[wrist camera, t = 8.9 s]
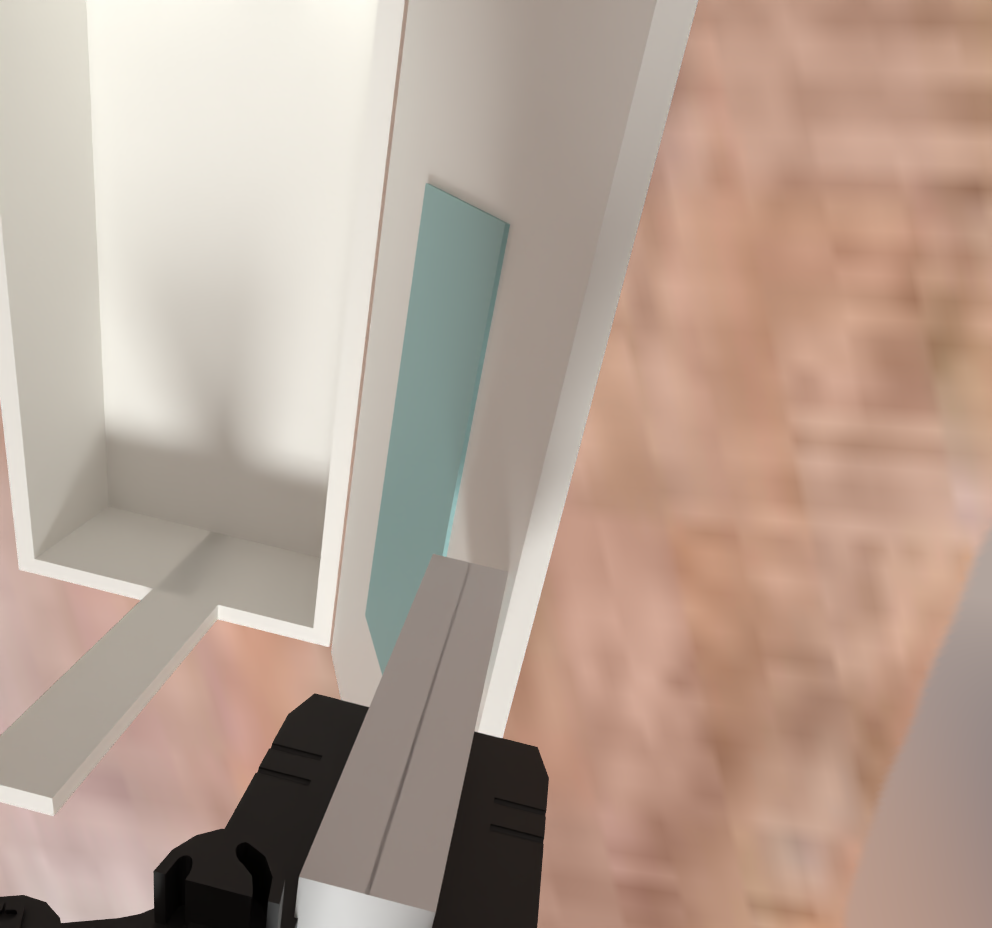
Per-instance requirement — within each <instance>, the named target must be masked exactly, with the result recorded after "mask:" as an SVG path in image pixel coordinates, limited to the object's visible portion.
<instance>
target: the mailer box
mask: <svg viewBox="0 0 992 928" xmlns="http://www.w3.org/2000/svg"><path fill="white" fill-rule="evenodd" d="M408 3H409V0H0V401H1V410H2V419H3V428H4V437H5V446H6V455H7V464H8V473H9V482H10V492H11V501H12V510H13V519H14V528H15V537H16V546H17V555H18V564H19V570H23V571H27V572H31V573H35V574H39V575H43V576H47V577H51V578H55V579H59V580H63V581H67V582H71V583H75V584H79V585H83V586H87V587H91V588H95V589H99V590H103V591H107V592H111V593H115V594H119V595H123V596H127V597H131V598H135V599H139V600H141V601H140V602H139V603H137V604H136V605H135V606H134V607H133V608H132V609H131V610H130V611H129V612H128V613H127V614H126V615H125V616H124V617H123V618H122V619H121V620H120V621H119V622H118V623H117V624H116V625H115V626H114V627H113V628H112V629H110V630H109V631H108V632H107V633H106V634H105V635H104V636H103V637H102V638H101V639H100V640H99V641H98V642H97V643H96V644H95V645H94V646H93V647H92V648H91V649H90V650H89V651H88V652H87V653H86V654H85V655H83V656H82V657H81V658H80V659H79V660H78V661H77V662H76V663H75V664H74V665H73V666H72V667H71V668H70V669H69V670H68V671H67V672H66V673H65V674H64V675H63V676H62V677H61V678H60V679H59V680H57V681H56V682H55V683H54V684H53V685H52V686H51V687H50V688H49V689H48V690H47V691H46V692H45V693H44V694H43V695H42V696H41V697H40V698H39V699H38V700H37V701H36V702H35V703H34V704H33V705H32V706H30V707H29V708H28V709H27V710H26V711H25V712H24V713H23V714H22V715H21V716H20V717H19V718H18V719H17V720H16V721H15V722H14V723H13V724H12V725H11V726H10V727H9V728H8V729H7V730H6V731H5V732H3V733H2V734H1V735H0V802H2V803H6V804H10V805H13V806H17V807H21V808H25V809H28V810H32V811H36V812H40V813H43V814H47V815H51V816H55V814H56V813H57V812H58V811H59V810H60V808H61V807H62V806H63V805H64V804H65V802H66V801H67V800H68V799H69V798H70V796H71V795H72V794H73V793H74V792H75V790H76V789H77V788H78V787H79V786H80V784H81V783H82V782H83V781H84V780H85V778H86V777H87V776H88V775H89V773H90V772H91V771H92V770H93V769H94V767H95V766H96V765H97V764H98V763H99V761H100V760H101V759H102V758H103V757H104V755H105V754H106V753H107V752H108V751H109V749H110V748H111V747H112V746H113V745H114V743H115V742H116V741H117V740H118V739H119V737H120V736H121V735H122V734H123V733H124V731H125V730H126V729H127V728H128V727H129V725H130V724H131V723H132V722H133V720H134V719H135V718H136V717H137V716H138V714H139V713H140V712H141V711H142V710H143V708H144V707H145V706H146V705H147V704H148V702H149V701H150V700H151V699H152V698H153V696H154V695H155V694H156V693H157V692H158V690H159V689H160V688H161V687H162V686H163V684H164V683H165V682H166V681H167V680H168V678H169V677H170V676H171V675H172V674H173V672H174V671H175V670H176V669H177V668H178V666H179V665H180V664H181V663H182V661H183V660H184V659H185V658H186V657H187V655H188V654H189V653H190V652H191V651H192V649H193V648H194V647H195V646H196V645H197V643H198V642H199V641H200V640H201V639H202V637H203V636H204V635H205V634H206V633H207V631H208V630H209V629H210V628H211V627H212V625H213V624H214V623H215V622H216V621H217V619H219V620H223V621H227V622H231V623H235V624H239V625H243V626H247V627H251V628H255V629H259V630H263V631H267V632H271V633H275V634H279V635H283V636H287V637H291V638H295V639H299V640H303V641H307V642H311V643H315V644H319V645H323V646H327V647H330V645H331V643H332V641H333V634H334V625H335V617H336V609H337V600H338V592H339V583H340V575H341V567H342V558H343V550H344V541H345V533H346V525H347V516H348V508H349V499H350V491H351V482H352V474H353V466H354V457H355V449H356V440H357V432H358V424H359V415H360V407H361V398H362V390H363V382H364V373H365V365H366V356H367V348H368V339H369V331H370V323H371V314H372V306H373V297H374V289H375V281H376V272H377V264H378V255H379V247H380V239H381V230H382V222H383V213H384V205H385V196H386V188H387V180H388V171H389V163H390V154H391V146H392V138H393V129H394V121H395V112H396V104H397V96H398V87H399V79H400V70H401V62H402V53H403V45H404V37H405V28H406V20H407V11H408Z"/></svg>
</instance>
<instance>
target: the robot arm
mask: <svg viewBox="0 0 992 928" xmlns="http://www.w3.org/2000/svg"><path fill="white" fill-rule="evenodd" d="M507 577H508V572H507V571H503V570H499V569H494V568H490V567H486V566H482V565H478V564H474V563H470V562H465V561H461V560H457V559H453V558H449V557H445V556H440V555H436V554H433V555H432V557H431V560H430V562H429V565H428V567H427V569H426V572H425V574H424V577H423V579H422V581H421V584H420V586H419V589H418V591H417V593H416V596H415V598H414V601H413V603H412V606H411V608H410V610H409V613H408V615H407V618H406V620H405V622H404V625H403V627H402V630H401V632H400V634H399V637H398V639H397V642H396V644H395V646H394V649H393V651H392V654H391V656H390V659H389V661H388V663H387V666H386V668H385V671H384V673H383V675H382V678H381V680H380V683H379V685H378V687H377V690H376V692H375V695H374V697H373V700H372V702H371V704H370V707H367V706H363V705H359V704H355V703H351V702H347V701H343V700H339V699H335V698H331V697H327V696H323V695H319V694H313V695H312V696H311V697H310V698H308V699H307V700H306V701H305V702H303V703H302V704H301V705H300V706H298V707H297V708H296V709H295V710H293V711H292V712H291V713H290V714H288V716H287V718H286V719H285V721H284V723H283V725H282V727H281V728H280V730H279V732H278V734H277V736H276V737H275V739H274V741H273V743H272V747H271V749H269V750H268V752H267V754H266V755H265V757H264V759H263V761H262V763H261V764H260V766H259V770H258V772H257V773H255V775H254V777H253V779H252V781H251V783H250V784H249V786H248V788H247V790H246V792H245V793H244V795H243V797H242V799H241V801H240V802H239V804H238V806H237V808H236V810H235V811H234V813H233V815H232V817H231V819H230V820H229V822H228V824H227V826H226V828H225V829H219V830H215V831H211V832H207V833H204V834H200V835H196V836H194V837H193V838H191V839H189V840H188V841H186V842H185V843H183V844H181V845H180V846H178V847H176V848H175V849H173V850H172V851H171V852H170V853H169V854H168V855H167V857H166V858H165V859H164V860H163V861H162V862H161V863H160V865H159V866H158V867H157V868H156V869H155V870H154V909H151V910H149V911H146V912H144V913H142V914H138V915H133V916H128V917H123V918H116V919H104V920H93V921H81V922H70V923H61V922H60V918H59V916H58V915H57V914H56V913H55V912H54V911H53V910H52V908H51V907H50V906H49V905H48V904H47V903H46V902H44V901H40V900H37V899H34V898H31V897H28V896H25V895H19V896H6V897H0V928H537V922H538V909H539V896H540V883H541V871H542V858H543V845H544V844H543V840H544V832H545V819H546V817H545V813H546V807H547V794H548V781H549V777H548V775H547V772H546V769H545V766H544V764H543V761H542V758H541V755H540V753H539V750H538V747H535V746H531V745H527V744H523V743H519V742H515V741H511V740H507V739H503V738H499V737H495V736H491V735H487V734H483V733H479V732H475V726H476V722H477V717H478V712H479V707H480V703H481V698H482V693H483V689H484V684H485V679H486V675H487V670H488V665H489V661H490V656H491V651H492V647H493V642H494V637H495V633H496V628H497V623H498V619H499V614H500V609H501V605H502V600H503V595H504V591H505V586H506V581H507Z"/></svg>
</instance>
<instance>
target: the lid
mask: <svg viewBox="0 0 992 928" xmlns="http://www.w3.org/2000/svg"><path fill="white" fill-rule="evenodd" d="M697 3H698V0H409V3H408V11H407V20H406V28H405V37H404V45H403V53H402V62H401V70H400V79H399V87H398V96H397V104H396V112H395V121H394V129H393V138H392V146H391V154H390V163H389V171H388V180H387V188H386V196H385V205H384V213H383V222H382V230H381V239H380V247H379V255H378V264H377V272H376V281H375V289H374V297H373V306H372V314H371V323H370V331H369V339H368V348H367V356H366V365H365V373H364V382H363V390H362V398H361V407H360V415H359V424H358V432H357V440H356V449H355V457H354V466H353V474H352V482H351V491H350V499H349V508H348V516H347V525H346V533H345V541H344V550H343V558H342V567H341V575H340V583H339V592H338V600H337V609H336V617H335V625H334V634H333V642H332V651H331V654H332V658H333V663H334V668H335V673H336V678H337V683H338V687H339V692H340V697H341V700H343V701H347V702H351V703H355V704H359V705H363V706H367V707H370V704H371V702H372V700H373V697H374V695H375V692H376V690H377V687H378V685H379V683H380V680H381V678H382V675H383V673H384V671H385V668H386V666H387V663H388V661H389V659H390V656H391V654H392V651H393V649H394V646H395V644H396V642H397V639H398V637H399V634H400V632H401V630H402V627H403V625H404V622H405V620H406V618H407V615H408V613H409V610H410V608H411V606H412V603H413V601H414V598H415V596H416V593H417V591H418V589H419V586H420V584H421V581H422V579H423V577H424V574H425V572H426V569H427V567H428V565H429V562H430V560H431V557H432V555H433V554H436V555H440V556H445V557H449V558H453V559H457V560H461V561H465V562H470V563H474V564H478V565H482V566H486V567H490V568H494V569H499V570H503V571H507V572H508V577H507V581H506V586H505V591H504V595H503V600H502V605H501V609H500V614H499V619H498V623H497V628H496V633H495V637H494V642H493V647H492V651H491V656H490V661H489V665H488V670H487V675H486V679H485V684H484V689H483V693H482V698H481V703H480V707H479V712H478V717H477V722H476V726H475V732H479V733H483V734H487V735H491V736H495V737H499V738H503V734H504V730H505V727H506V723H507V719H508V715H509V711H510V708H511V704H512V700H513V696H514V693H515V689H516V685H517V681H518V678H519V674H520V670H521V666H522V662H523V659H524V655H525V651H526V647H527V644H528V640H529V636H530V632H531V629H532V625H533V621H534V617H535V613H536V610H537V606H538V602H539V598H540V595H541V591H542V587H543V583H544V580H545V576H546V572H547V568H548V564H549V561H550V557H551V553H552V549H553V546H554V542H555V538H556V534H557V531H558V527H559V523H560V519H561V515H562V512H563V508H564V504H565V500H566V497H567V493H568V489H569V485H570V482H571V478H572V474H573V470H574V466H575V463H576V459H577V455H578V451H579V448H580V444H581V440H582V436H583V433H584V429H585V425H586V421H587V417H588V414H589V410H590V406H591V402H592V399H593V395H594V391H595V387H596V384H597V380H598V376H599V372H600V368H601V365H602V361H603V357H604V353H605V350H606V346H607V342H608V338H609V335H610V331H611V327H612V323H613V319H614V316H615V312H616V308H617V304H618V301H619V297H620V293H621V289H622V286H623V282H624V278H625V274H626V270H627V267H628V263H629V259H630V255H631V252H632V248H633V244H634V240H635V237H636V233H637V229H638V225H639V221H640V218H641V214H642V210H643V206H644V203H645V199H646V195H647V191H648V188H649V184H650V180H651V176H652V172H653V169H654V165H655V161H656V157H657V154H658V150H659V146H660V142H661V138H662V135H663V131H664V127H665V123H666V120H667V116H668V112H669V108H670V105H671V101H672V97H673V93H674V89H675V86H676V82H677V78H678V74H679V71H680V67H681V63H682V59H683V56H684V52H685V48H686V44H687V40H688V37H689V33H690V29H691V25H692V22H693V18H694V14H695V10H696V7H697Z"/></svg>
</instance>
